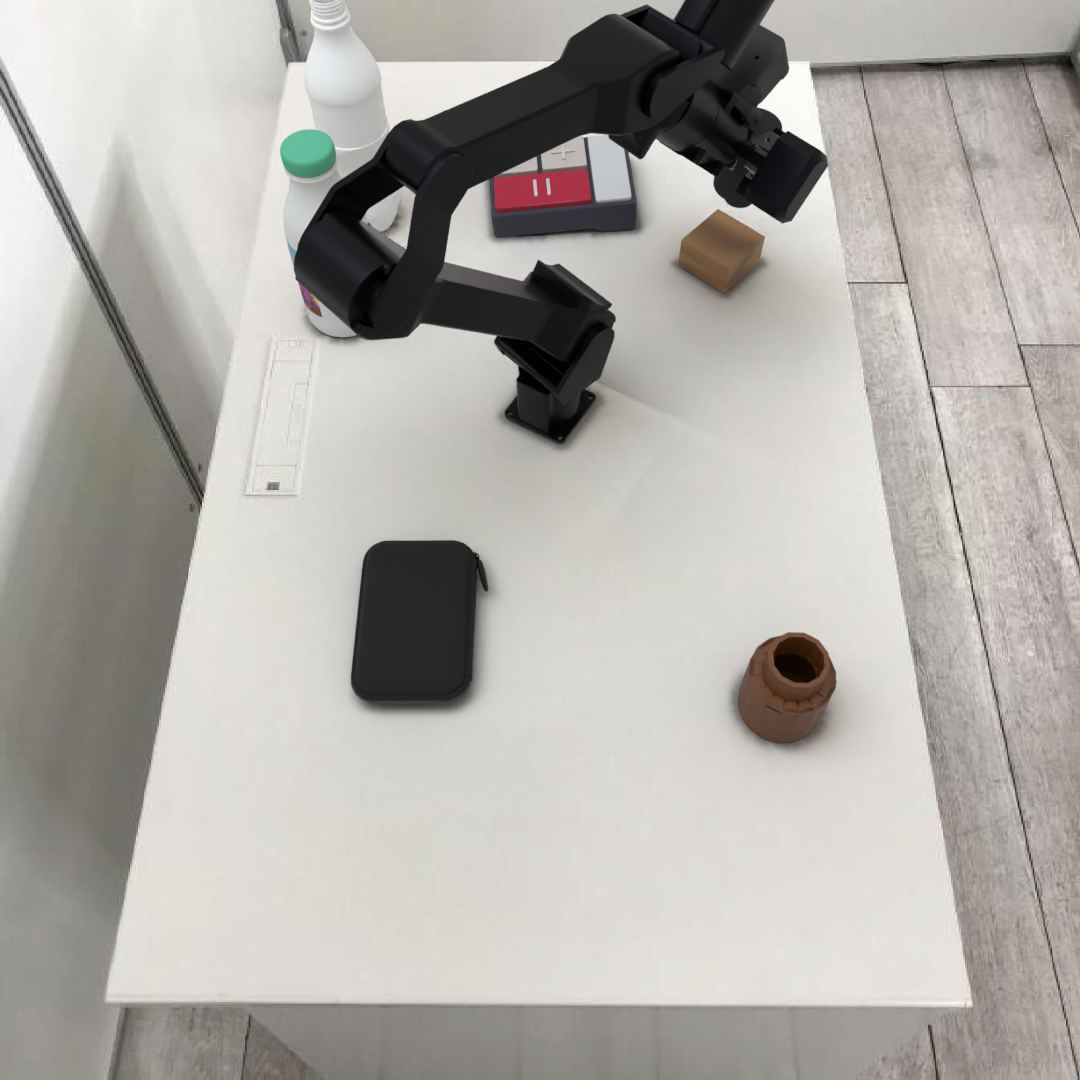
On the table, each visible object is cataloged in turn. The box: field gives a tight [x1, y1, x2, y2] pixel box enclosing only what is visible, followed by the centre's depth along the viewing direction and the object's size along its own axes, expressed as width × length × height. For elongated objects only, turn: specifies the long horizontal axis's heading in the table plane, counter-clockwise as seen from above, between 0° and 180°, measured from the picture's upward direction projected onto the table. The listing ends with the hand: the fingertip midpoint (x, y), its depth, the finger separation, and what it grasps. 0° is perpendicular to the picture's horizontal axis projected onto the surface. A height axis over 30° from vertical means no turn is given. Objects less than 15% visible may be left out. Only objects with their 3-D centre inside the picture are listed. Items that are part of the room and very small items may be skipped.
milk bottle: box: [279, 128, 369, 338], centre depth 99 cm, size 8×8×20 cm
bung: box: [713, 106, 783, 209], centre depth 96 cm, size 5×5×8 cm
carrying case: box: [350, 539, 489, 704], centre depth 87 cm, size 11×3×15 cm
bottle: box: [737, 631, 837, 744], centre depth 81 cm, size 6×6×8 cm
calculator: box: [488, 134, 637, 238], centre depth 113 cm, size 11×4×15 cm
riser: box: [677, 208, 766, 294], centre depth 108 cm, size 6×6×4 cm
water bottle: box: [303, 0, 401, 233], centre depth 103 cm, size 7×7×25 cm
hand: (754, 161), depth 97 cm, fingers closed on bung, 5 cm apart
